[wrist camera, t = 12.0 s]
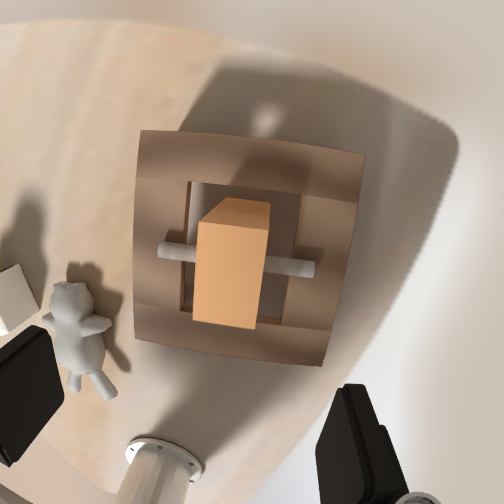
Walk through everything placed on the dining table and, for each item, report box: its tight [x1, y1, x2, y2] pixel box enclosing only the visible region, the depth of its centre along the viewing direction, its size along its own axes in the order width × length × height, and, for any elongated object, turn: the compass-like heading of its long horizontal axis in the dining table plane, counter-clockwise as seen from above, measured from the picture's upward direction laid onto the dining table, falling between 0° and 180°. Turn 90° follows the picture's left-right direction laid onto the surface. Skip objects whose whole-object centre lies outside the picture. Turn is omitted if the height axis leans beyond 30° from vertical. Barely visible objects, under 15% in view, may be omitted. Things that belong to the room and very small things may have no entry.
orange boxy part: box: [193, 197, 271, 329], centre depth 24 cm, size 6×4×11 cm, turn 173°
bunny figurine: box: [42, 282, 118, 400], centre depth 33 cm, size 10×5×15 cm
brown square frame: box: [133, 130, 365, 367], centre depth 26 cm, size 17×16×9 cm
